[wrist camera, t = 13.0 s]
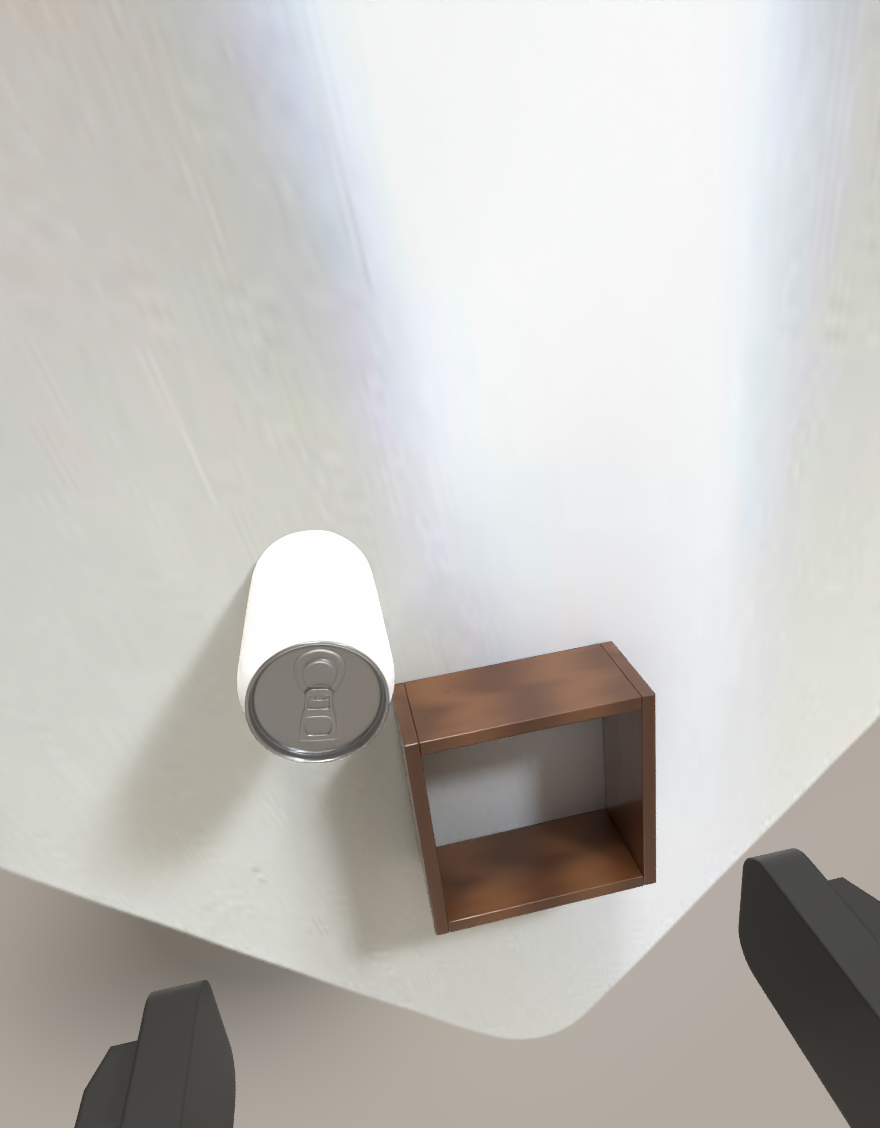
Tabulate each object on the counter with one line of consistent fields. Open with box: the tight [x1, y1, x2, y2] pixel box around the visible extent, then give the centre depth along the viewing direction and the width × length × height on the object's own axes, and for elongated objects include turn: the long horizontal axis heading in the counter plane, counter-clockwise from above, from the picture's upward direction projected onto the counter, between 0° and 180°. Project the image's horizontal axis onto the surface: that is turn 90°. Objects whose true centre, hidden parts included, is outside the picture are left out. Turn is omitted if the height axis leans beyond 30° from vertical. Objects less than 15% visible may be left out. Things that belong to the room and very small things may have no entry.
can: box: [237, 530, 395, 764], centre depth 34 cm, size 6×6×12 cm
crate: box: [392, 641, 656, 935], centre depth 44 cm, size 14×14×6 cm
